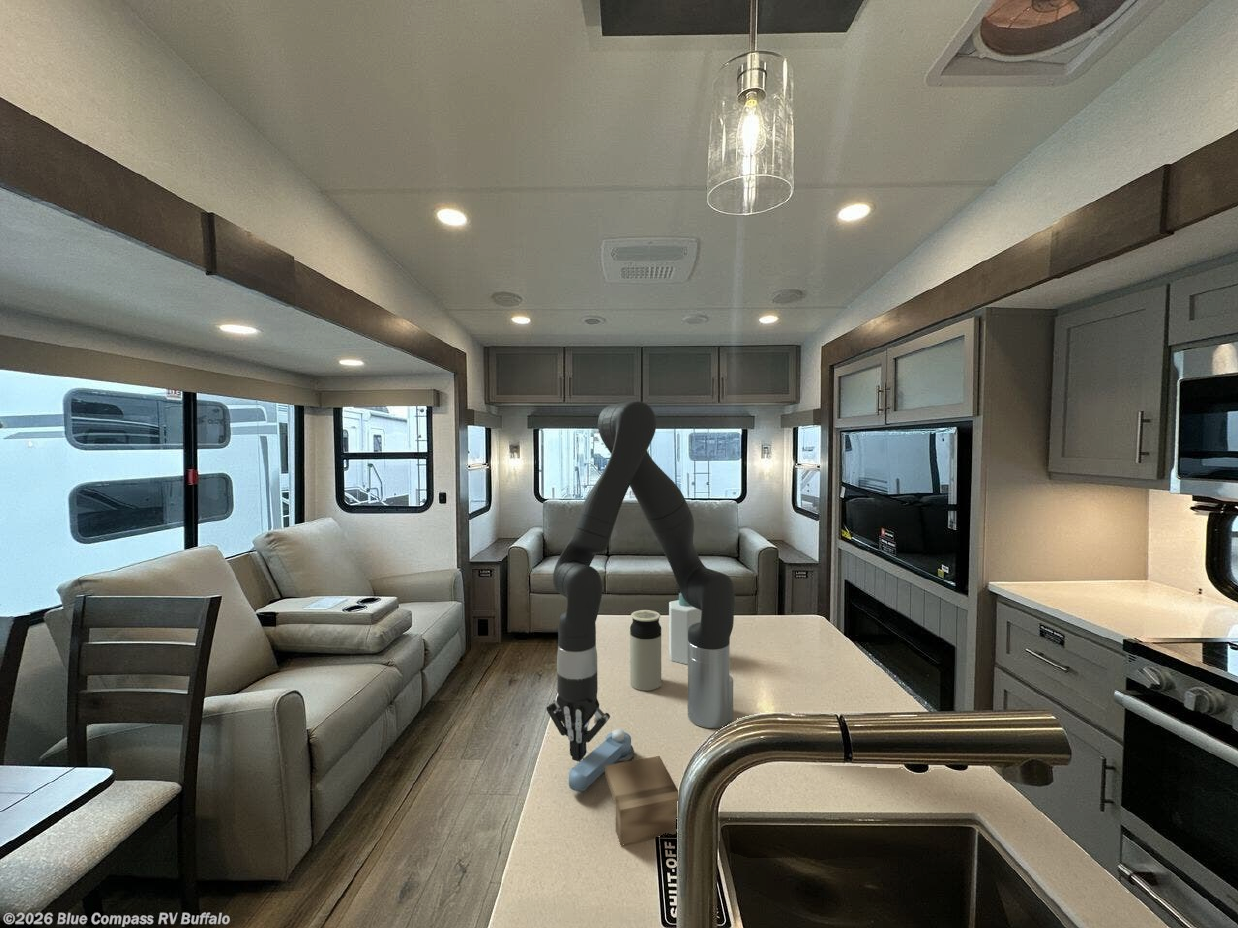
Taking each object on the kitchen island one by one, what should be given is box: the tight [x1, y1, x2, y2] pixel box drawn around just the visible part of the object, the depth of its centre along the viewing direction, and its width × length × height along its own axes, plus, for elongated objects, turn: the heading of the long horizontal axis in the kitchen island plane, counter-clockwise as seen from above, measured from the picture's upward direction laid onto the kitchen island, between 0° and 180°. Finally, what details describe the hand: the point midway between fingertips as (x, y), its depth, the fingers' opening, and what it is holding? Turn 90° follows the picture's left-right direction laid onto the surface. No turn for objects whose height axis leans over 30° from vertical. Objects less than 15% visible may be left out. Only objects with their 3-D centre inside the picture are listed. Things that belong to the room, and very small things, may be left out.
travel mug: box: [629, 609, 662, 692], centre depth 121 cm, size 8×8×18 cm
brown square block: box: [604, 755, 679, 846], centre depth 78 cm, size 10×10×6 cm
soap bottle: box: [668, 592, 702, 666], centre depth 137 cm, size 10×9×22 cm
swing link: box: [568, 728, 632, 792], centre depth 88 cm, size 16×5×3 cm, turn 145°
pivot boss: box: [613, 744, 635, 764], centre depth 93 cm, size 6×6×1 cm
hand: (578, 758), depth 89 cm, fingers closed
